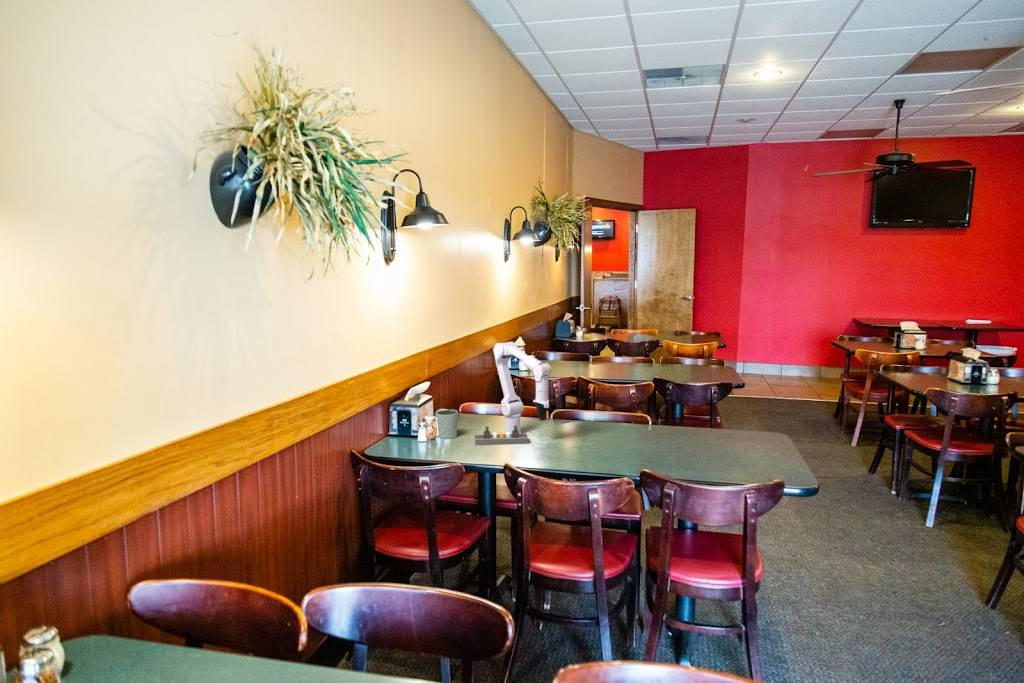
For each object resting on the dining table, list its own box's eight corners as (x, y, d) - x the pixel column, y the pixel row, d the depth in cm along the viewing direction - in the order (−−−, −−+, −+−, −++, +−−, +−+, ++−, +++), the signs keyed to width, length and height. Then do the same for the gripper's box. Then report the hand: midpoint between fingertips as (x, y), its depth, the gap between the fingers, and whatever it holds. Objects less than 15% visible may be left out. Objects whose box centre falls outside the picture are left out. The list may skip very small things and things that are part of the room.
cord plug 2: (511, 435, 283) (511, 425, 282) (518, 435, 283) (518, 424, 283) (512, 437, 280) (512, 426, 279) (519, 437, 280) (519, 426, 280)
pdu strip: (474, 440, 284) (474, 434, 283) (526, 439, 286) (526, 433, 286) (475, 445, 277) (475, 439, 276) (528, 443, 279) (528, 437, 279)
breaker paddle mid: (499, 436, 282) (499, 432, 282) (502, 436, 282) (502, 432, 282) (499, 437, 280) (499, 433, 279) (503, 437, 280) (503, 433, 280)
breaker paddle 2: (505, 436, 282) (505, 432, 282) (509, 435, 283) (509, 432, 282) (506, 437, 280) (506, 433, 280) (509, 437, 280) (509, 433, 280)
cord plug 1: (483, 436, 282) (483, 425, 281) (490, 436, 282) (490, 425, 281) (483, 438, 279) (483, 427, 278) (490, 438, 279) (490, 427, 278)
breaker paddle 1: (492, 436, 282) (492, 432, 282) (496, 436, 282) (496, 432, 282) (493, 437, 279) (493, 434, 279) (496, 437, 280) (496, 433, 279)
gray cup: (460, 434, 295) (459, 409, 293) (456, 440, 285) (455, 414, 283) (439, 433, 296) (438, 409, 294) (434, 439, 286) (434, 414, 284)
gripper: (529, 387, 285) (529, 416, 286) (538, 394, 271) (538, 424, 272) (543, 387, 286) (543, 415, 288) (553, 393, 272) (553, 423, 274)
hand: (541, 419), depth 280 cm, fingers closed
